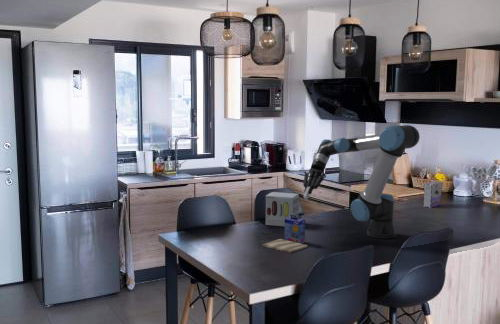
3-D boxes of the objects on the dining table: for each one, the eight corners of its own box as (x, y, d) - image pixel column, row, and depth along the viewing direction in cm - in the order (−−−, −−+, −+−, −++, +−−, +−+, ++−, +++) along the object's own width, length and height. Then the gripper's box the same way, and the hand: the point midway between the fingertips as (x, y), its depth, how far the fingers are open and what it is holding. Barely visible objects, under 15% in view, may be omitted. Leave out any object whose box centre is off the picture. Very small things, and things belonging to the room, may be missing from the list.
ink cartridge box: (283, 241, 269) (283, 214, 267) (289, 239, 273) (290, 212, 271) (299, 244, 262) (299, 216, 261) (305, 242, 267) (305, 214, 265)
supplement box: (265, 225, 304) (264, 195, 301) (272, 220, 316) (272, 191, 314) (293, 227, 298) (293, 197, 295) (299, 222, 310) (299, 193, 308)
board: (307, 247, 257) (307, 245, 257) (290, 253, 247) (290, 251, 247) (280, 240, 270) (280, 238, 270) (262, 246, 260) (262, 244, 260)
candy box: (433, 204, 363) (434, 181, 361) (441, 205, 358) (442, 182, 356) (422, 206, 354) (423, 183, 352) (430, 208, 350) (431, 184, 348)
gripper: (332, 168, 284) (318, 203, 272) (311, 166, 291) (296, 200, 279) (328, 160, 279) (314, 195, 267) (306, 158, 286) (292, 192, 274)
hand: (305, 198), depth 273 cm, fingers closed
